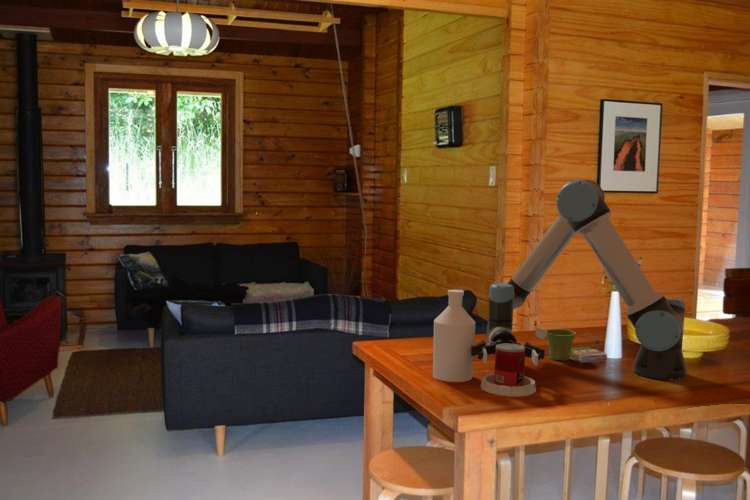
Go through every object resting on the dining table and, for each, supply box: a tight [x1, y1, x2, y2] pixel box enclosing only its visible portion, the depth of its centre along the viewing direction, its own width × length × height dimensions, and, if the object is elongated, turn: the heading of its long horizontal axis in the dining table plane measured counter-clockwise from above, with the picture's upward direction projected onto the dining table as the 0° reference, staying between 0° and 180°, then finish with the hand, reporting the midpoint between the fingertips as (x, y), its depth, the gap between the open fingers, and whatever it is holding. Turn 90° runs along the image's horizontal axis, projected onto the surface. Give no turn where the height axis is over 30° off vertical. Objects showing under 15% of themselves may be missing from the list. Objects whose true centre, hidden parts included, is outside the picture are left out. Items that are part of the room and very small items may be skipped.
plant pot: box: [545, 328, 577, 362], centre depth 248 cm, size 9×9×9 cm
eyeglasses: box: [533, 325, 599, 342], centre depth 278 cm, size 15×18×4 cm
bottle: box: [432, 289, 476, 383], centre depth 222 cm, size 12×12×25 cm
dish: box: [480, 373, 537, 398], centre depth 213 cm, size 15×15×2 cm
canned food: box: [494, 343, 526, 387], centre depth 212 cm, size 8×8×11 cm
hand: (511, 359), depth 209 cm, fingers open, 13 cm apart
